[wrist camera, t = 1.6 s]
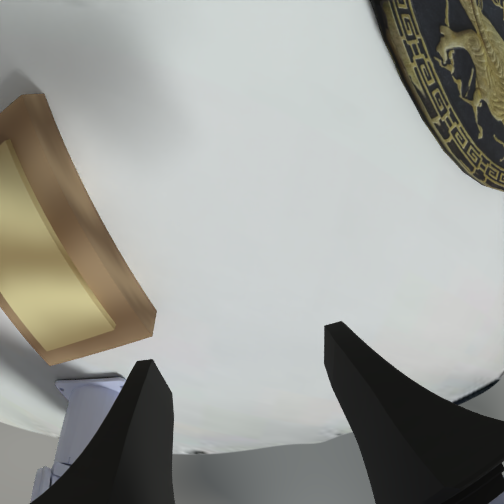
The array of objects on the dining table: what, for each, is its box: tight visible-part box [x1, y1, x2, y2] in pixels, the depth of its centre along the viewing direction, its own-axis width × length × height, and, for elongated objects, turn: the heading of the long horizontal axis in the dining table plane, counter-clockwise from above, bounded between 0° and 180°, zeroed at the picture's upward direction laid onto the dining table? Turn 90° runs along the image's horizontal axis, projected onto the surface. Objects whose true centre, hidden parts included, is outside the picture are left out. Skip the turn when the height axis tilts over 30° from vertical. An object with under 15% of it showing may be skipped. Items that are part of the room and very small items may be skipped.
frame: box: [0, 94, 157, 366], centre depth 15 cm, size 16×10×4 cm, turn 19°
